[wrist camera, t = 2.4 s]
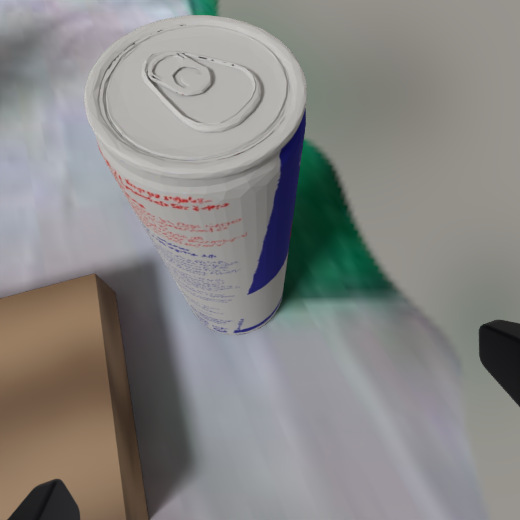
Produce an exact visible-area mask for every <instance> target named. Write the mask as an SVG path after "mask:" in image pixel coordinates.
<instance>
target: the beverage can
mask: <svg viewBox="0 0 520 520" xmlns="http://www.w3.org/2000/svg"><path fill="white" fill-rule="evenodd" d="M306 92H307V88H306V81H305V76H304V73H303V71H302V69H301V66H300V65H299V63H298V61H297V59H296V57H295V56H294V55H293V54H292V52H291V51H290V50H289V49H288V48H287V47H286V46H285V45H284V44H283V43H282V42H281V41H280V40H278V39H277V38H276V37H274V36H273V35H271V34H269V33H268V32H266V31H264V30H263V29H261V28H258V27H256V26H254V25H251V24H248V23H245V22H243V21H239V20H235V19H231V18H224V17H217V16H208V15H187V16H181V17H175V18H169V19H164V20H159V21H156V22H153V23H150V24H148V25H145V26H142V27H140V28H138V29H136V30H134V31H132V32H131V33H129V34H127V35H125V36H123V37H122V38H120V39H119V40H117V41H116V42H114V43H113V44H112V45H111V46H110V47H109V48H108V49H107V50H106V51H105V52H104V53H103V54H102V55H101V56H100V58H99V59H98V61H97V62H96V64H95V65H94V66H93V68H92V69H91V71H90V74H89V77H88V80H87V83H86V87H85V98H84V104H85V109H86V114H87V118H88V121H89V123H90V125H91V127H92V129H93V130H94V132H95V135H96V139H97V142H98V146H99V150H100V152H101V154H102V156H103V158H104V160H105V162H106V163H107V165H108V167H109V169H110V170H111V172H112V174H113V175H114V177H115V179H116V181H117V182H118V184H119V186H120V187H121V189H122V191H123V193H124V194H125V196H126V198H127V199H128V201H129V203H130V205H131V206H132V208H133V210H134V211H135V213H136V215H137V217H138V218H139V220H140V222H141V223H142V225H143V227H144V229H145V230H146V232H147V234H148V235H149V237H150V239H151V240H152V242H153V244H154V246H155V247H156V249H157V251H158V252H159V254H160V256H161V258H162V259H163V261H164V263H165V264H166V266H167V268H168V270H169V271H170V273H171V275H172V276H173V278H174V280H175V282H176V283H177V285H178V287H179V288H180V290H181V292H182V294H183V295H184V297H185V299H186V300H187V302H188V304H189V306H190V307H191V309H192V311H193V312H194V314H195V315H196V317H197V318H198V319H199V320H200V321H201V322H202V323H203V324H204V325H205V326H207V327H208V328H210V329H212V330H214V331H216V332H219V333H222V334H228V335H240V334H246V333H250V332H252V331H255V330H257V329H259V328H261V327H262V326H264V325H265V324H266V323H267V322H268V321H269V320H270V319H271V318H272V317H273V316H274V315H275V313H276V312H277V310H278V308H279V306H280V303H281V301H282V296H283V287H284V280H285V272H286V265H287V258H288V250H289V243H290V236H291V228H292V221H293V214H294V206H295V199H296V192H297V184H298V177H299V170H300V162H301V155H302V148H303V140H304V133H305V126H306V111H305V110H306V109H305V105H306V97H307V96H306V95H307V93H306Z"/></svg>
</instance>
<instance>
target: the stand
mask: <svg viewBox="0 0 520 520" xmlns="http://www.w3.org/2000/svg"><path fill="white" fill-rule="evenodd" d="M53 479H60V480H62V481H63V482H64V484H65V485H66V487H67V489H68V490H69V492H70V494H71V495H72V497H73V498H74V500H75V502H76V503H77V505H78V507H79V511H80V520H149V519H148V512H147V505H146V498H145V491H144V485H143V478H142V471H141V464H140V457H139V451H138V444H137V437H136V430H135V423H134V417H133V410H132V403H131V396H130V389H129V383H128V376H127V369H126V362H125V356H124V349H123V342H122V335H121V328H120V322H119V315H118V308H117V301H116V294H115V292H114V291H113V290H112V289H111V288H110V287H109V286H108V285H107V284H106V283H105V282H104V281H103V280H101V279H100V278H99V277H98V276H97V275H96V274H91V275H87V276H83V277H80V278H76V279H72V280H68V281H65V282H61V283H57V284H53V285H50V286H46V287H42V288H38V289H35V290H31V291H27V292H23V293H20V294H16V295H12V296H8V297H4V298H1V299H0V520H7V519H8V518H9V517H10V516H11V514H12V513H13V512H14V511H15V510H16V508H17V507H18V506H19V505H20V504H21V503H22V501H23V500H24V499H25V498H26V497H27V495H28V494H29V493H30V492H31V491H32V490H33V488H34V487H36V486H38V485H39V484H42V483H45V482H48V481H50V480H53Z"/></svg>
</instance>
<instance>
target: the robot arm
mask: <svg viewBox="0 0 520 520" xmlns="http://www.w3.org/2000/svg"><path fill="white" fill-rule="evenodd" d="M479 356H480V360H481V362H482V364H483V365H484V367H485V368H486V369H487V370H488V372H489V373H490V374H491V375H492V376H493V377H494V378H495V379H496V381H497V382H498V383H499V384H500V385H501V386H502V387H503V389H504V390H505V391H506V392H507V393H508V394H509V395H510V396H511V398H512V399H513V400H514V401H515V402H516V403H517V404H518V405H519V407H520V324H519V323H514V322H509V321H504V320H494V321H492V322H489V323H486V324H483V325H482V326H481V327H480V329H479ZM7 520H80V511H79V507H78V505H77V503H76V502H75V500H74V498H73V497H72V495H71V494H70V492H69V490H68V489H67V487H66V485H65V484H64V482H63V481H62V480H60V479H53V480H50V481H48V482H45V483H42V484H39V485H38V486H36V487H34V488H33V490H32V491H31V492H30V493H29V494H28V495H27V497H26V498H25V499H24V500H23V501H22V503H21V504H20V505H19V506H18V507H17V508H16V510H15V511H14V512H13V513H12V514H11V516H10V517H9V518H8V519H7Z"/></svg>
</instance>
